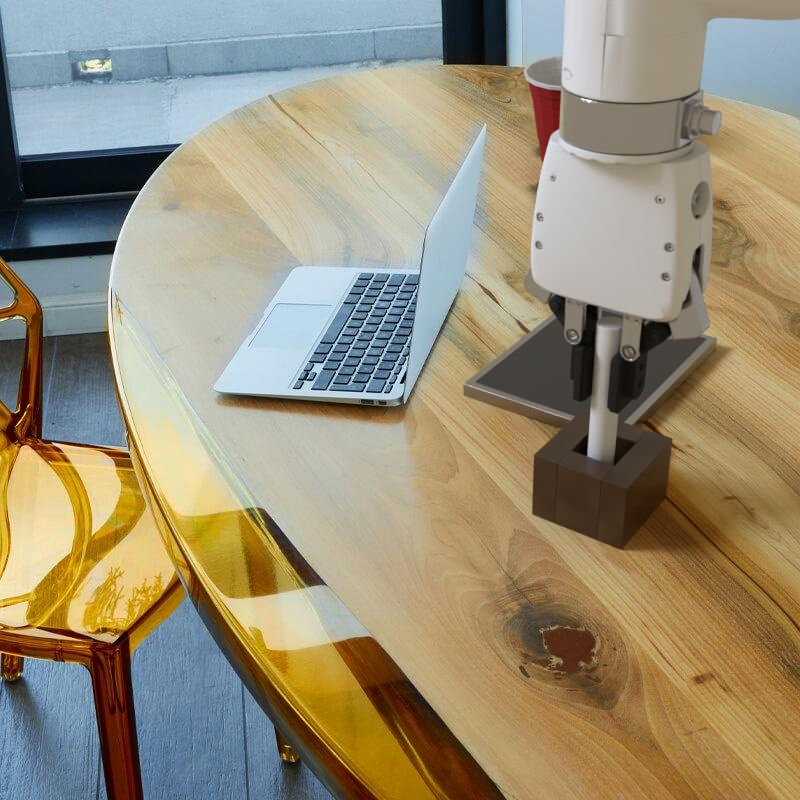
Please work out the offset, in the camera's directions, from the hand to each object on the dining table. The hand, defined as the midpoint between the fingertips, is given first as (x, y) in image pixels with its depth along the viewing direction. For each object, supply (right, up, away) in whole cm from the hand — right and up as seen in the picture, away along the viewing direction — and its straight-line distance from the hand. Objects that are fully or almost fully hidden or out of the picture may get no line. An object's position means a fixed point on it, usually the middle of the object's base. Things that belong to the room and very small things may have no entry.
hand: (605, 395), depth 70 cm
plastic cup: (+7, +28, +62) cm, 68 cm away
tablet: (+3, +2, +20) cm, 20 cm away
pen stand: (+1, -8, +5) cm, 9 cm away
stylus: (0, -6, +3) cm, 7 cm away
